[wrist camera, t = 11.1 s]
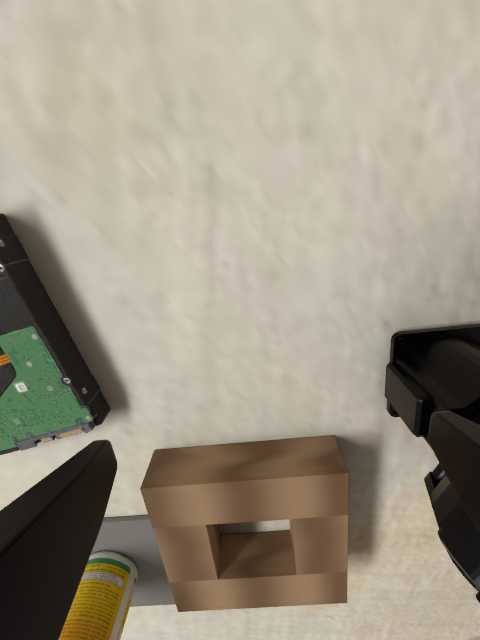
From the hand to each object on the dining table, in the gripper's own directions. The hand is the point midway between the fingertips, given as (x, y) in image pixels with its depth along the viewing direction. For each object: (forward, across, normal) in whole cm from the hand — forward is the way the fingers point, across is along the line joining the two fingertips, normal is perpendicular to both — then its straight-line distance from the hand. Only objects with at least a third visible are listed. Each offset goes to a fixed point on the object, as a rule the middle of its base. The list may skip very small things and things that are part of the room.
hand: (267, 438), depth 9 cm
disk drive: (+13, +18, +1) cm, 22 cm away
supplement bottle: (+12, +16, +24) cm, 31 cm away
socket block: (+12, +2, +18) cm, 22 cm away
